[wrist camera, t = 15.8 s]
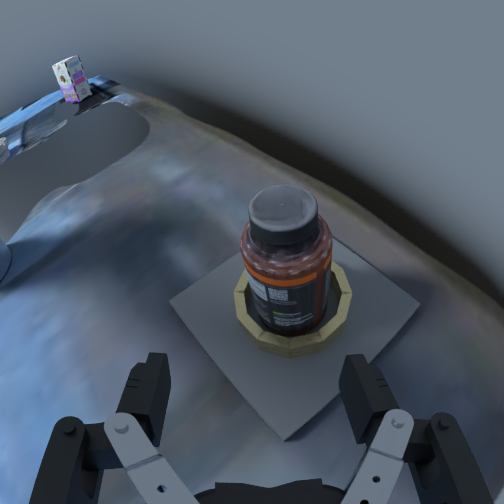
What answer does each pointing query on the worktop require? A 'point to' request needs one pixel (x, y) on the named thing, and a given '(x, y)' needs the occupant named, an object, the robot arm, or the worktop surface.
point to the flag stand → (4, 150)
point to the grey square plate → (298, 368)
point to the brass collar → (300, 343)
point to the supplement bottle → (287, 259)
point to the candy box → (72, 79)
